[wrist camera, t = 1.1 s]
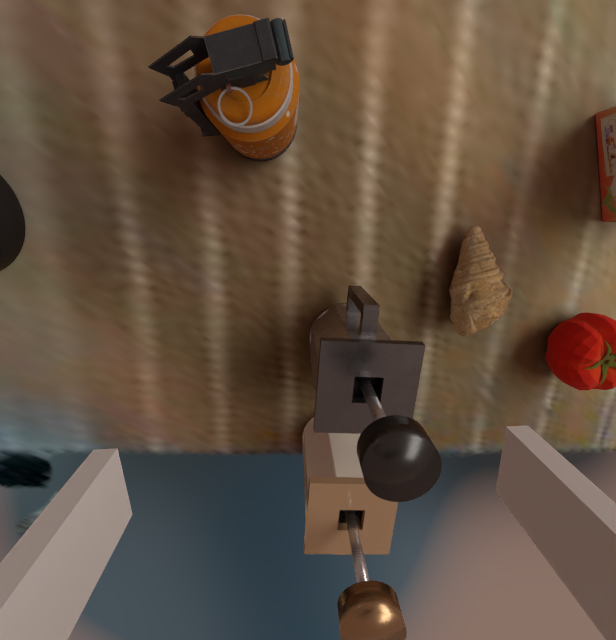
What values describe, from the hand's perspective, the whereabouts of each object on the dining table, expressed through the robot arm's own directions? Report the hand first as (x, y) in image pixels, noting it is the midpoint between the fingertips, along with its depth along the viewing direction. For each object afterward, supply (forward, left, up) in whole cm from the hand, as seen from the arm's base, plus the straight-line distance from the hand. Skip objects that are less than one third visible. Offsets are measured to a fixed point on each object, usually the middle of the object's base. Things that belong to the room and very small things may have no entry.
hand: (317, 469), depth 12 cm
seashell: (+23, +1, -38) cm, 45 cm away
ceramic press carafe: (+7, -27, -38) cm, 47 cm away
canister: (-7, +18, -38) cm, 43 cm away
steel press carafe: (+7, -7, -38) cm, 39 cm away
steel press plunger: (+7, -9, -26) cm, 28 cm away
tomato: (+41, -8, -38) cm, 57 cm away
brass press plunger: (+7, -26, -26) cm, 37 cm away
